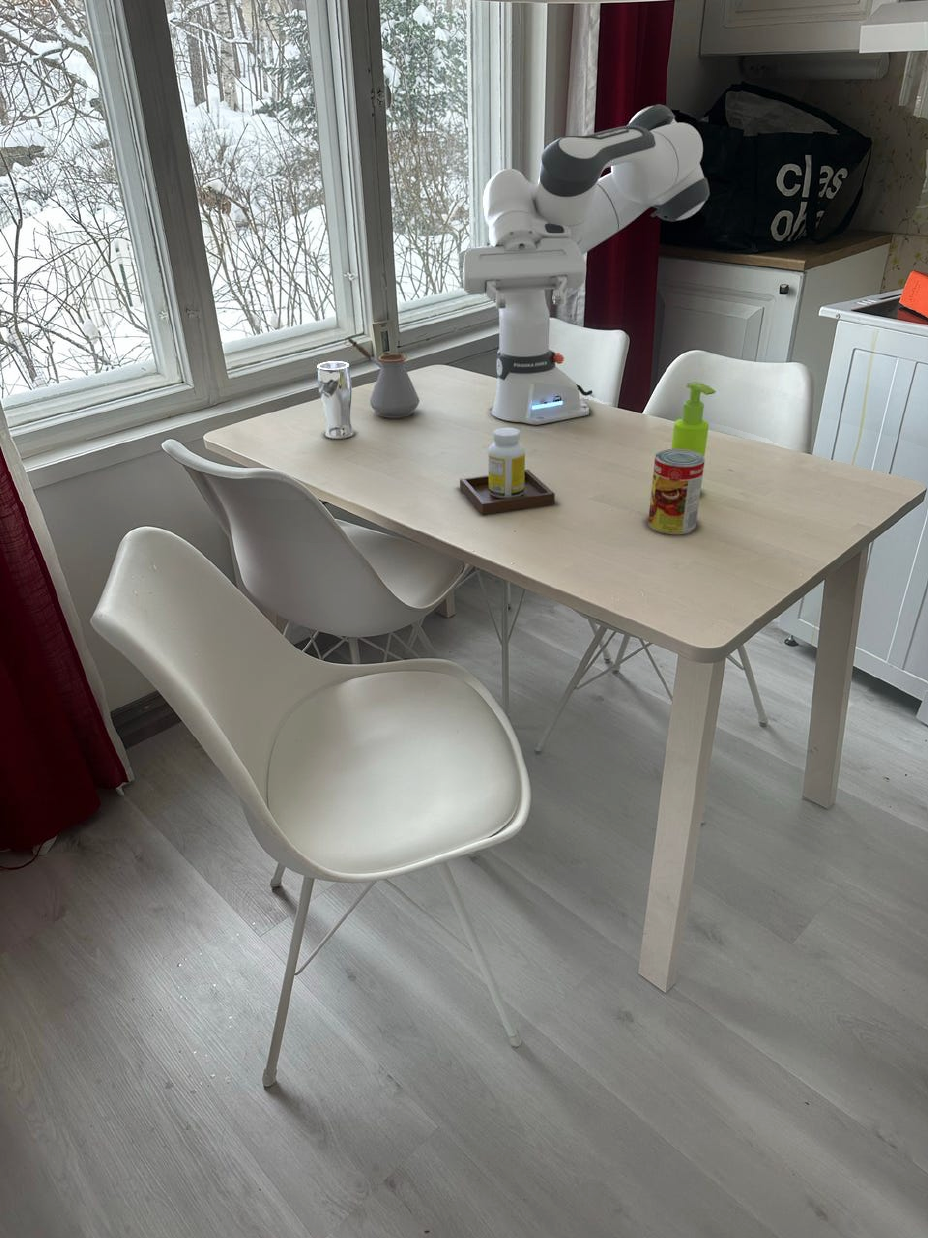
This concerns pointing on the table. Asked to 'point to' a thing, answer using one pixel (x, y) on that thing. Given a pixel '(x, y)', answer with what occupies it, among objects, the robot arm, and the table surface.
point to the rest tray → (488, 504)
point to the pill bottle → (506, 464)
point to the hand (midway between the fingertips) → (530, 303)
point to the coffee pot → (391, 386)
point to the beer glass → (336, 398)
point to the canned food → (675, 491)
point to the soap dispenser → (692, 422)
